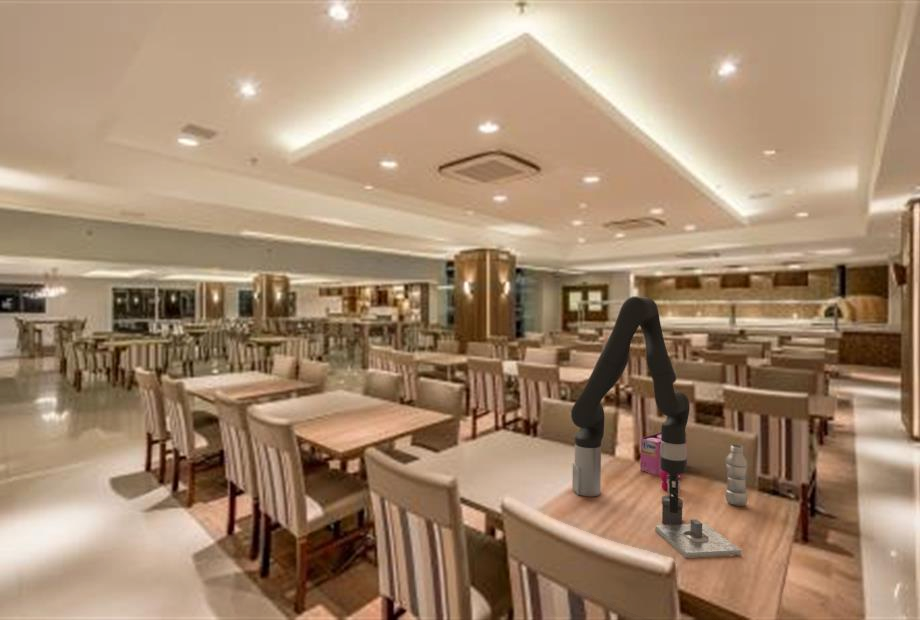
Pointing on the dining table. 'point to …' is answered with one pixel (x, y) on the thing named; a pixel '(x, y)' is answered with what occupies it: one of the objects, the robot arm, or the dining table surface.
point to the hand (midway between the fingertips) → (673, 507)
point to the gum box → (651, 454)
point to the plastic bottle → (736, 476)
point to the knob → (667, 515)
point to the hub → (697, 540)
